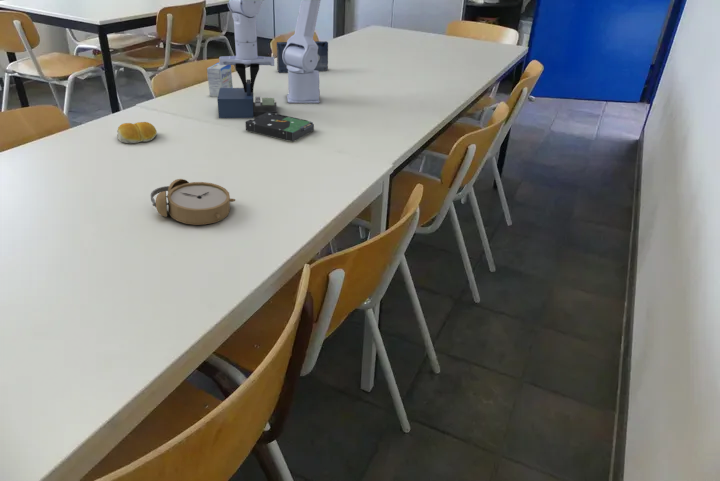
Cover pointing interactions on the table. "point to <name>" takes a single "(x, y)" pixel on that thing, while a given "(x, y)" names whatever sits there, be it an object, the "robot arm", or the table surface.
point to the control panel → (263, 109)
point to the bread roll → (136, 132)
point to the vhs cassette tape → (321, 53)
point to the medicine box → (219, 78)
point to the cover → (235, 102)
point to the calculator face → (264, 101)
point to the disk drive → (280, 126)
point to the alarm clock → (193, 202)
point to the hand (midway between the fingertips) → (248, 91)
